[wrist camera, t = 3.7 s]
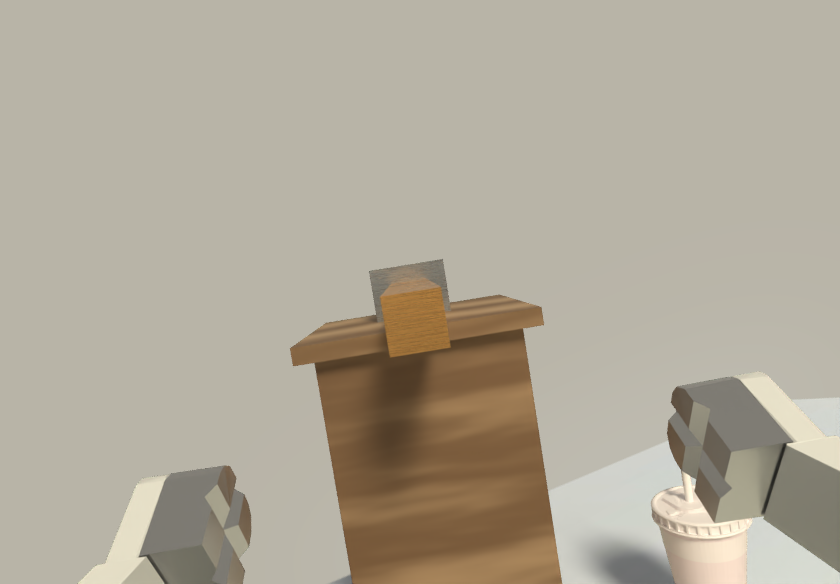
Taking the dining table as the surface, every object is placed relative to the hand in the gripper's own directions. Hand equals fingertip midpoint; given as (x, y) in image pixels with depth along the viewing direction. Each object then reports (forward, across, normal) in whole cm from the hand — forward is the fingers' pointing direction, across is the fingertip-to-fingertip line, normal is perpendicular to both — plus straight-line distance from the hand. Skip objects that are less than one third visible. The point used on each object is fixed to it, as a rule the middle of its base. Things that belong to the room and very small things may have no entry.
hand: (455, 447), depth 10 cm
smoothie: (+12, -17, +37) cm, 42 cm away
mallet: (+21, 0, +12) cm, 24 cm away
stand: (+11, +1, +36) cm, 38 cm away
